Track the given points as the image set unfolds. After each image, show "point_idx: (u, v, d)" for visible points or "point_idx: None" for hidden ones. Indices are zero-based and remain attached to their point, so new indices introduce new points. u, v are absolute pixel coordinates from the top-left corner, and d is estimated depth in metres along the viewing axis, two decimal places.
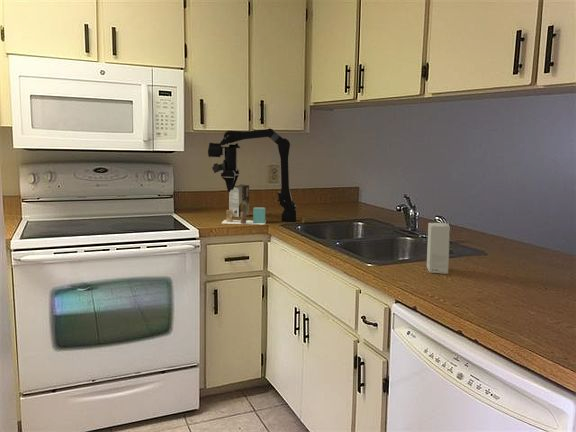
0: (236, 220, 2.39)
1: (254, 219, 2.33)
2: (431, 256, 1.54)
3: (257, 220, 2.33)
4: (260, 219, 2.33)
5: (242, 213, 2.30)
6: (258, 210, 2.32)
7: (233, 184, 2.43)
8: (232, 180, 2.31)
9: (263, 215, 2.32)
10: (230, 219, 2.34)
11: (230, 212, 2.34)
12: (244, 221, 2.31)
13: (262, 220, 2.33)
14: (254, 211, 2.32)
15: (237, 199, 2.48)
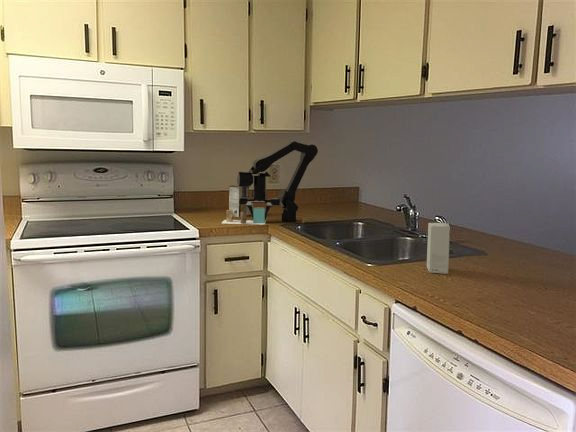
0: (236, 220, 2.39)
1: (254, 219, 2.33)
2: (431, 256, 1.54)
3: (257, 220, 2.33)
4: (260, 219, 2.33)
5: (242, 213, 2.30)
6: (258, 210, 2.32)
7: (265, 214, 2.34)
8: None
9: (263, 215, 2.32)
10: (230, 219, 2.34)
11: (230, 212, 2.34)
12: (244, 221, 2.31)
13: (262, 220, 2.33)
14: (254, 211, 2.32)
15: (237, 199, 2.48)
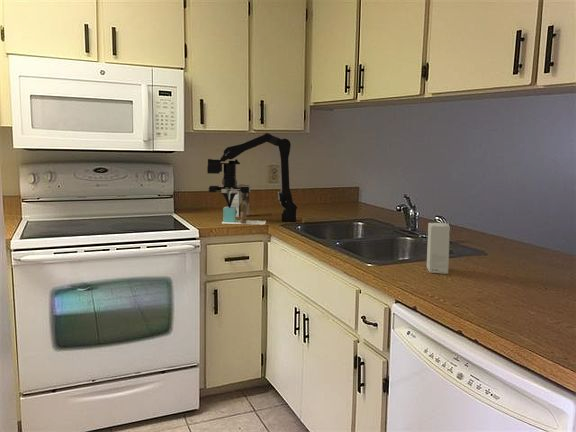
0: (236, 220, 2.39)
1: (224, 218, 2.33)
2: (431, 256, 1.54)
3: (227, 219, 2.33)
4: (230, 218, 2.33)
5: (242, 213, 2.30)
6: (228, 209, 2.32)
7: (229, 202, 2.34)
8: None
9: (233, 214, 2.33)
10: None
11: None
12: (244, 221, 2.31)
13: (232, 219, 2.33)
14: (224, 210, 2.33)
15: (237, 199, 2.48)
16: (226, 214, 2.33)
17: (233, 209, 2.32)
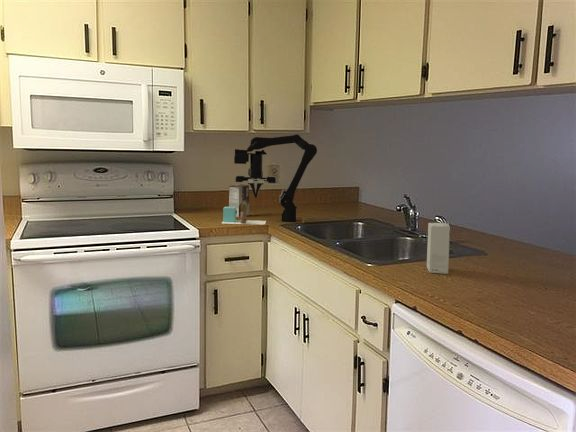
0: (236, 220, 2.39)
1: (224, 218, 2.33)
2: (431, 256, 1.54)
3: (227, 219, 2.33)
4: (230, 218, 2.33)
5: (242, 213, 2.30)
6: (228, 209, 2.32)
7: (256, 192, 2.36)
8: None
9: (233, 214, 2.33)
10: None
11: None
12: (244, 221, 2.31)
13: (232, 219, 2.33)
14: (224, 210, 2.33)
15: (237, 199, 2.48)
16: (226, 214, 2.33)
17: (233, 209, 2.32)
